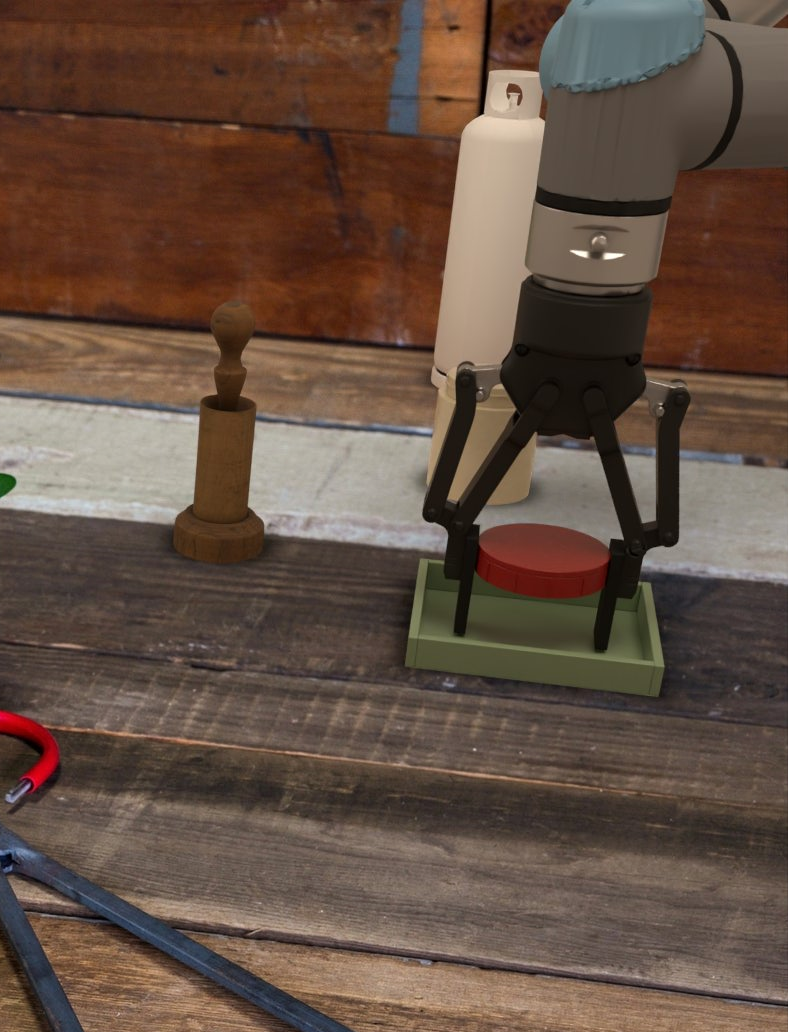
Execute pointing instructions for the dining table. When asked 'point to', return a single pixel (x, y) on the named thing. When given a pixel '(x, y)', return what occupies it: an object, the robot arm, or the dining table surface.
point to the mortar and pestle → (224, 455)
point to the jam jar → (482, 443)
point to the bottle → (490, 226)
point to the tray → (534, 636)
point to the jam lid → (542, 560)
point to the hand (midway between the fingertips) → (529, 632)
